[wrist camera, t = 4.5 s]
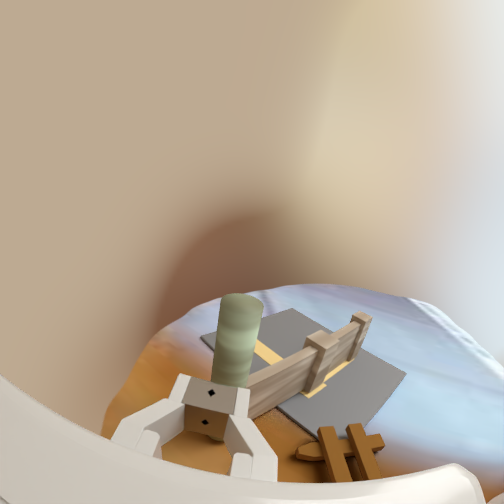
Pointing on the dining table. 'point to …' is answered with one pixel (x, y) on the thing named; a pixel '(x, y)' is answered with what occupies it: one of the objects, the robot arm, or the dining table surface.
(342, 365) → the board
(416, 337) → the dining table surface
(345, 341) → the fixed fence section
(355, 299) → the dining table surface
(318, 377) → the swinging fence section
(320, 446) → the decorative fence
